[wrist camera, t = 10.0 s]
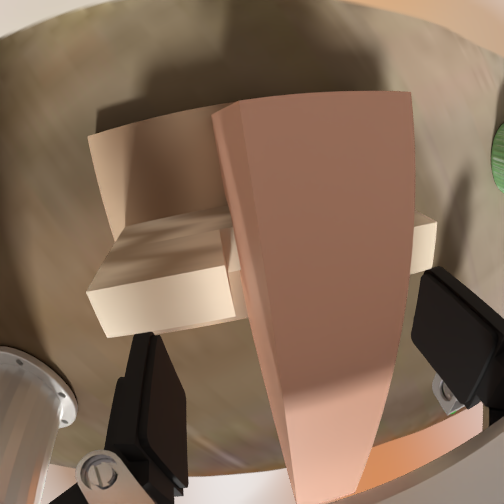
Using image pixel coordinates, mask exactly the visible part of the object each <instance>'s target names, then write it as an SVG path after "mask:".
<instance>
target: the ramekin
mask: <svg viewBox="0 0 504 504" xmlns="http://www.w3.org/2000/svg"><path fill="white" fill-rule="evenodd" d="M491 166H492V173H493V177H494V181H495V183H496V185H497V187H498V188H499V189H500V191H502V192H503V193H504V123H503V124H502V125H501V126H500V128H499V129H498V131H497V133H496V135H495V138H494V141H493V146H492V153H491Z"/></svg>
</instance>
